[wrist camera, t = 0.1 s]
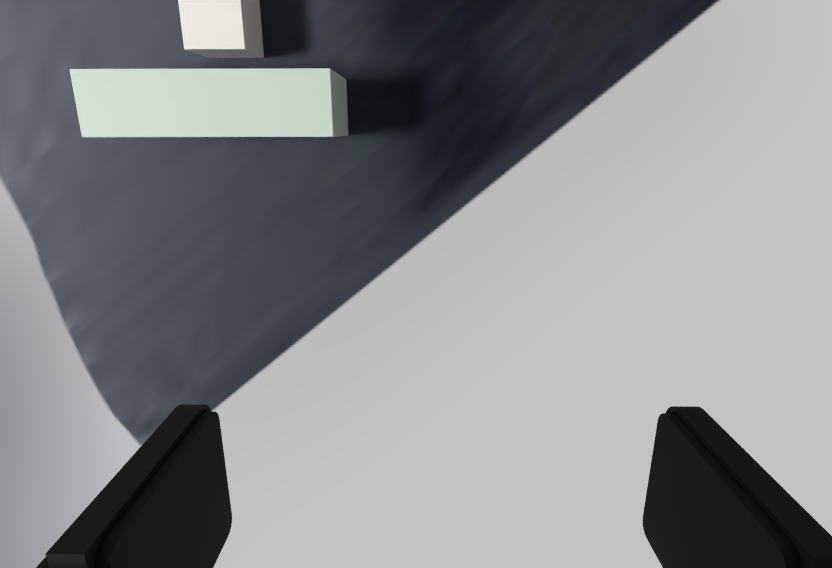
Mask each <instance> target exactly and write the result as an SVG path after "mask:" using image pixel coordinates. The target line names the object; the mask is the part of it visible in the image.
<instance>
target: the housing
mask: <svg viewBox="0 0 832 568" xmlns="http://www.w3.org/2000/svg"><path fill="white" fill-rule="evenodd" d="M70 74H71V80H72V85H73V91H74V96H75V101H76V107H77V112H78V118H79V123H80V129H81V134H82V137H336V136H348V111H347V85H346V79H345V78H343V77H342V76H340V75H339V74H337V73H336V72H334V71H333V70H331V69H330V68H298V69H70Z"/></svg>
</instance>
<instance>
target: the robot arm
mask: <svg viewBox="0 0 832 568" xmlns="http://www.w3.org/2000/svg"><path fill="white" fill-rule="evenodd" d="M231 523H232V513H231V505H230V498H229V490H228V483H227V475H226V468H225V459H224V452H223V445H222V437H221V429H220V421H219V416H218V414H217V413H216V412H211V409H210V408H209V406H208V405H178V406H177V407H176V408H175V409H174V410H173V411H172V412H171V414H170V415H169V416H168V417H167V418H166V419H165V420H164V421H163V423H162V424H161V425H160V426H159V427H158V428H157V429H156V430H155V432H154V433H153V434H152V435H151V436H150V437H149V438H148V439H147V441H146V442H145V443H144V444H143V445H142V446H141V447H140V448H139V449H138V451H137V452H136V453H135V454H134V455H133V456H132V458H130V460H129V461H128V462H127V463H126V464H125V465H124V466H123V468H122V469H121V470H120V471H119V472H118V473H117V474H116V476H114V478H113V479H112V480H111V481H110V482H109V483H108V484H107V485H106V487H105V488H104V489H103V490H102V491H101V492H100V493H99V494H98V495H97V497H96V498H95V499H94V500H93V501H92V502H91V503H90V505H89V506H88V507H87V508H86V509H85V510H84V511H83V512H82V514H81V515H80V516H79V517H78V518H77V519H76V520H75V521H74V523H73V524H72V525H71V526H70V527H69V528H68V529H67V530H66V531H65V533H64V534H63V535H62V536H61V537H60V538H59V540H58V541H57V542H56V543H55V544H54V545H53V546H52V547H51V548H50V549H49V551H48V552H47V553H46V557H45V559H44V560H43V561H42V562H41V563H40V564H39V565H38V566H37V568H213V567H214V564H215V562H216V560H217V558H218V556H219V554H220V552H221V549H222V548H223V546H224V544H225V541H226V539H227V537H228V535H229V532H230V529H231ZM643 527H644V532H645V535H646V537H647V539H648V541H649V543H650V545H651V547H652V549H653V550H654V552H655V554H656V556H657V558H658V559H659V561H660V563H661V565H662V567H663V568H832V536H831V535H830V534H829V533H828V532H827V531H826V530H825V529H824V528H823V527H822V526H821V525H820V524H819V523H818V522H817V521H816V520H815V519H814V518H813V517H812V516H810V514H809V513H808V512H807V511H806V510H805V509H804V508H802V506H800V505H799V504H798V503H797V502H796V501H795V500H794V499H793V498H792V497H791V496H790V495H789V494H788V493H787V492H786V491H785V490H784V489H783V488H782V487H781V486H780V485H779V484H778V483H777V482H776V481H775V480H774V479H773V478H772V477H771V476H770V475H769V474H768V473H767V472H766V471H765V470H764V469H763V468H762V467H761V466H760V465H759V464H758V463H757V462H756V461H755V460H754V459H753V458H752V457H751V456H750V455H749V454H748V453H747V452H746V451H745V450H744V449H743V448H742V447H741V446H740V445H739V444H738V443H737V442H736V441H735V440H734V439H733V438H732V437H730V435H729V434H728V433H727V432H726V431H725V430H724V429H722V427H720V426H719V424H718V423H717V422H716V421H715V420H713V419H712V418H711V417H710V416H709V415H708V414H707V413H706V412H705V411H704V410H703V409H702V408H700V407H670V408H668V410H667V412H666V414H661V415H660V416H659V419H658V423H657V430H656V437H655V442H654V450H653V456H652V462H651V468H650V475H649V482H648V488H647V494H646V502H645V507H644V514H643Z"/></svg>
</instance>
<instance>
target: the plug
mask: <svg viewBox="0 0 832 568" xmlns="http://www.w3.org/2000/svg"><path fill="white" fill-rule="evenodd" d="M178 2H179V10H180V18H181V27H182V35H183V43H184V49H185V50H188V51H191V52H194V53H197V54H200V55H202V56H205V57H208V58H264V51H263V39H262V26H261V14H260V2H259V0H178Z"/></svg>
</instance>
